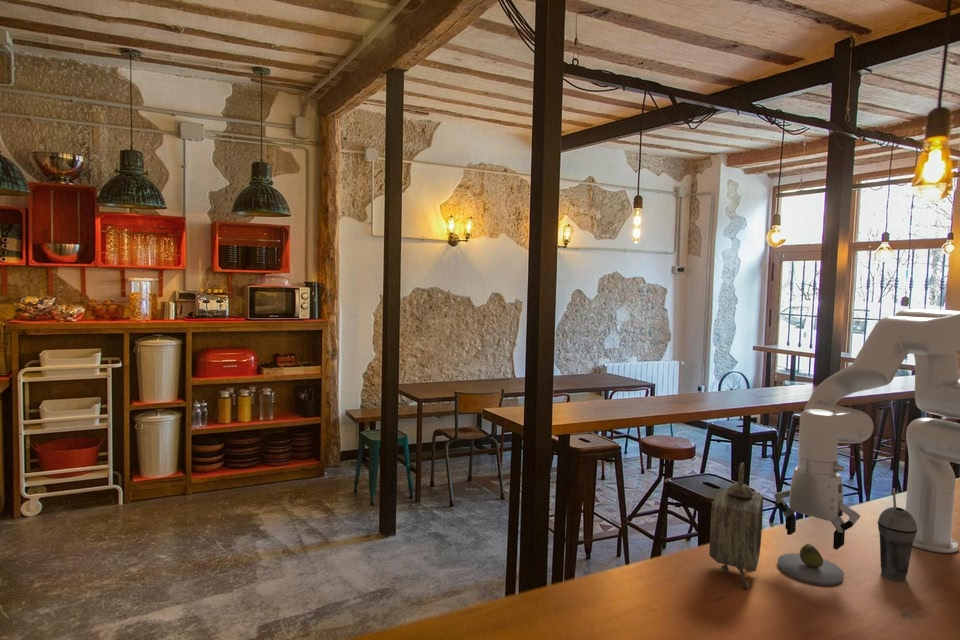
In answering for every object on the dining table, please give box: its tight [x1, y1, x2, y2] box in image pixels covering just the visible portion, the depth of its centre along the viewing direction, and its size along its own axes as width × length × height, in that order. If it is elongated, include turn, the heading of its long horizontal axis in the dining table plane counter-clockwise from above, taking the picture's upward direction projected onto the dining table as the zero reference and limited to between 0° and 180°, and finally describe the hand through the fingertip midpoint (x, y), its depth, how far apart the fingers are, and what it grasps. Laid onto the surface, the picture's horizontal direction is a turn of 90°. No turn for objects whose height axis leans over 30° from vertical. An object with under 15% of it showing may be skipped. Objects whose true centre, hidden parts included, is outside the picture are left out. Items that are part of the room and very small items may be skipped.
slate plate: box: [777, 553, 845, 586], centre depth 135 cm, size 13×13×1 cm
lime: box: [799, 543, 824, 568], centre depth 134 cm, size 4×5×5 cm
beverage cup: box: [877, 487, 917, 583], centre depth 132 cm, size 7×7×20 cm
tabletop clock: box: [708, 462, 764, 589], centre depth 131 cm, size 14×9×25 cm, turn 150°
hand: (813, 540), depth 134 cm, fingers open, 9 cm apart
